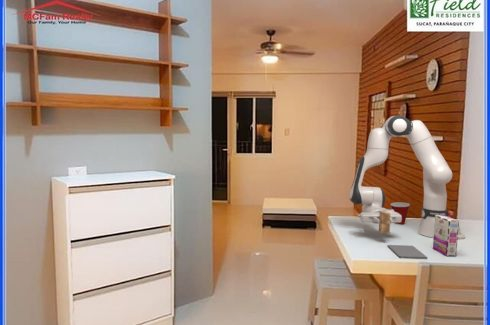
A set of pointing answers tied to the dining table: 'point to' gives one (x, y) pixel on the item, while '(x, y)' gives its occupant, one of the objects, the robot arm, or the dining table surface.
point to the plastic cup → (401, 210)
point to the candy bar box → (445, 235)
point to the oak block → (384, 222)
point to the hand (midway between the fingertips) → (385, 221)
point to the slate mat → (407, 251)
